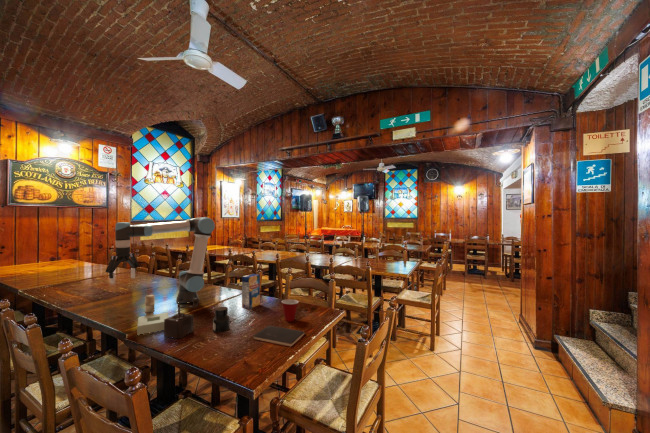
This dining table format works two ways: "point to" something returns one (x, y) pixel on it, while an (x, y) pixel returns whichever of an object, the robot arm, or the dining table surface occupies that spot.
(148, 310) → the peg
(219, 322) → the ink bottle
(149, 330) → the board
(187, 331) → the dark boxy piece
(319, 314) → the dining table surface
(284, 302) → the plastic cup
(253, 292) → the blue yellow cereal box
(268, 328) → the hardcover book
